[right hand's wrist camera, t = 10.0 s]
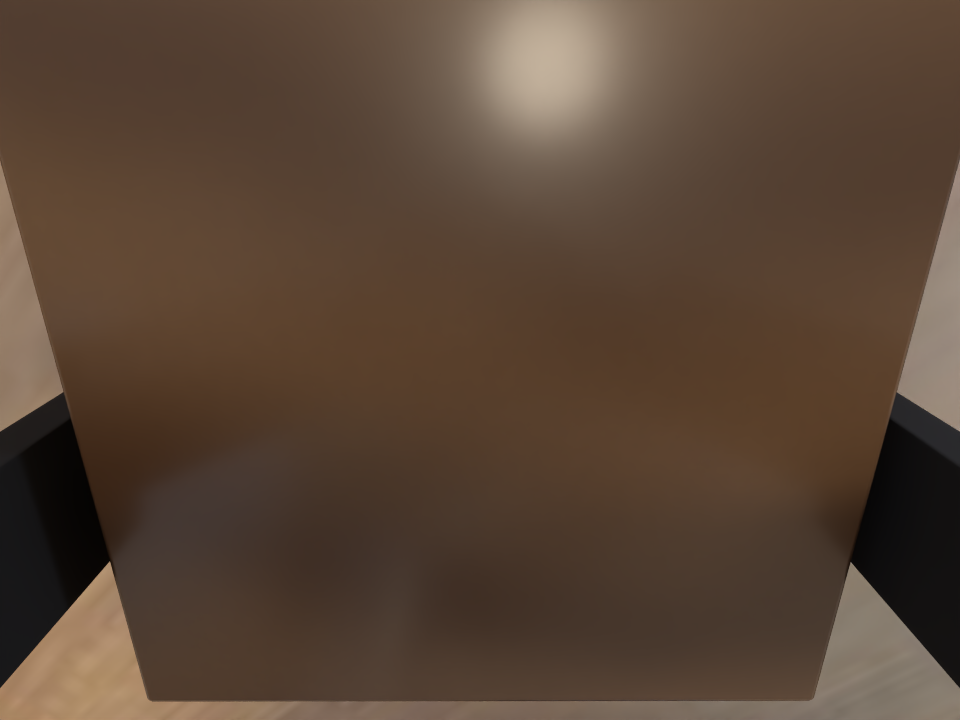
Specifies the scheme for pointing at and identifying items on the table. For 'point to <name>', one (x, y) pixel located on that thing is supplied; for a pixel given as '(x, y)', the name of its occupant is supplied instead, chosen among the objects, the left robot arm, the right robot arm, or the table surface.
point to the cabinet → (480, 327)
